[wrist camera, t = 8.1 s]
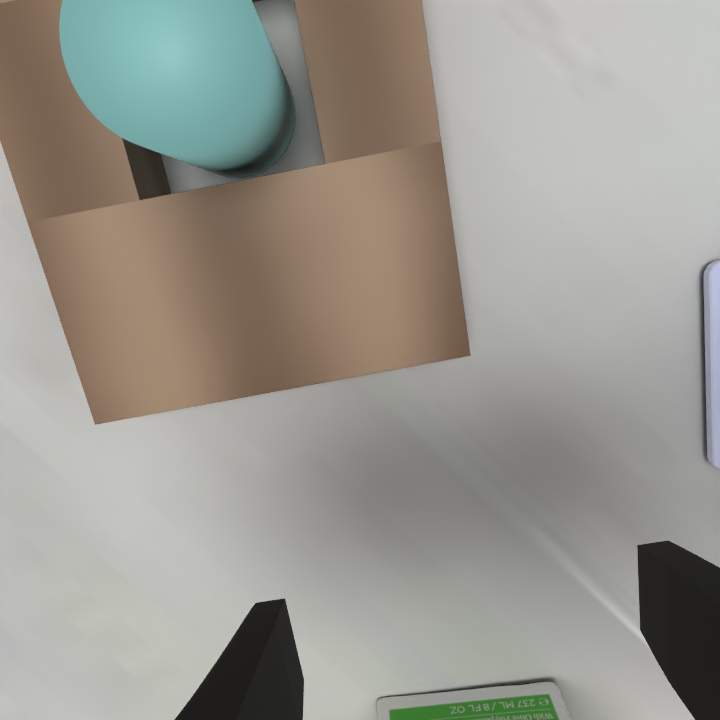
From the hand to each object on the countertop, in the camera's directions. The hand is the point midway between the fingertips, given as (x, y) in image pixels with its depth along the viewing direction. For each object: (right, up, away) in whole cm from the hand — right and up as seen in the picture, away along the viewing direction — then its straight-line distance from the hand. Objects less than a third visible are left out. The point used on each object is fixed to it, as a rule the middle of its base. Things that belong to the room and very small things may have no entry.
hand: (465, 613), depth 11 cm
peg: (-6, +13, +7) cm, 16 cm away
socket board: (-6, +13, +7) cm, 16 cm away
